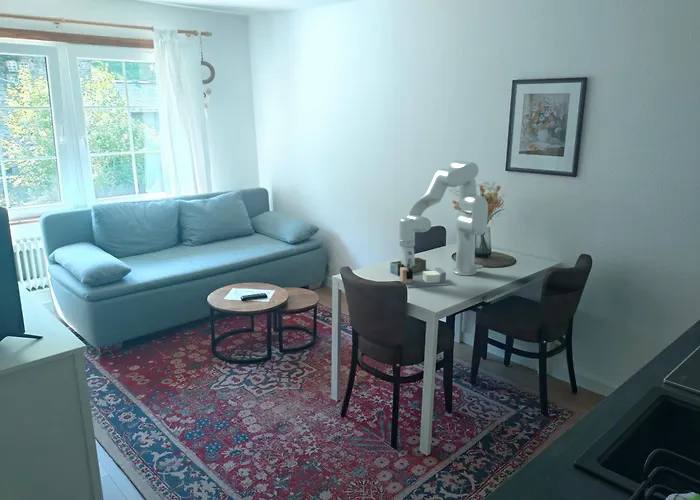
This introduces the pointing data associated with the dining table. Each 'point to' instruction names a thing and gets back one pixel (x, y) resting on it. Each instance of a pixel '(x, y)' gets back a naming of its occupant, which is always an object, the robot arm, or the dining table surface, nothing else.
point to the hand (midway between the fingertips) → (406, 276)
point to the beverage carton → (419, 266)
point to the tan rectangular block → (404, 275)
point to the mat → (423, 283)
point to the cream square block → (434, 276)
